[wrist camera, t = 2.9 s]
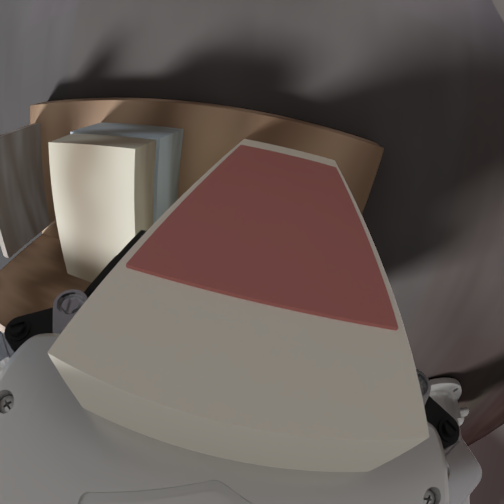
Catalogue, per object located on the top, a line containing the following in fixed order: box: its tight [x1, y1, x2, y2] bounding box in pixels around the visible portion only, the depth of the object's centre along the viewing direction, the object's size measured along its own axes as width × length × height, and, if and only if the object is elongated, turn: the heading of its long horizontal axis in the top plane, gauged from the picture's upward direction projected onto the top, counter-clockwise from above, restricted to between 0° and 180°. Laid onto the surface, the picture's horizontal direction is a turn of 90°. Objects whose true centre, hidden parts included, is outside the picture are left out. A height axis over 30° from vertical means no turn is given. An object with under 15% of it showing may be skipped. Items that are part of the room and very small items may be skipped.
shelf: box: [0, 98, 384, 333], centre depth 14 cm, size 25×13×12 cm, turn 80°
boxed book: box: [47, 139, 429, 472], centre depth 11 cm, size 5×9×14 cm, turn 171°
